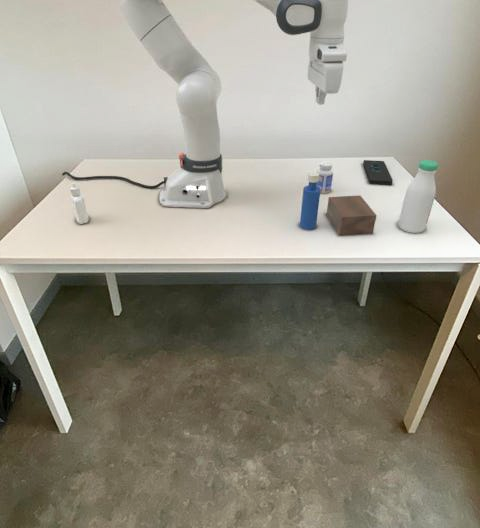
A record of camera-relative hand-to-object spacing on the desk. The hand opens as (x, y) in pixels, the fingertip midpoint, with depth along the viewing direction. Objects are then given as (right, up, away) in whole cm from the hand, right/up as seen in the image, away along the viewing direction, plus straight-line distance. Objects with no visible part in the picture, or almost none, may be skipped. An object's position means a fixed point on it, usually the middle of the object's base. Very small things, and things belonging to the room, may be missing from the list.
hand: (319, 103), depth 117 cm
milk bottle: (+28, -35, +4) cm, 45 cm away
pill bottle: (+6, -21, +25) cm, 33 cm away
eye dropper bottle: (-71, -33, +7) cm, 79 cm away
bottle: (+2, -33, +4) cm, 33 cm away
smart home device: (+29, -12, +37) cm, 48 cm away
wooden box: (+10, -34, +6) cm, 36 cm away
